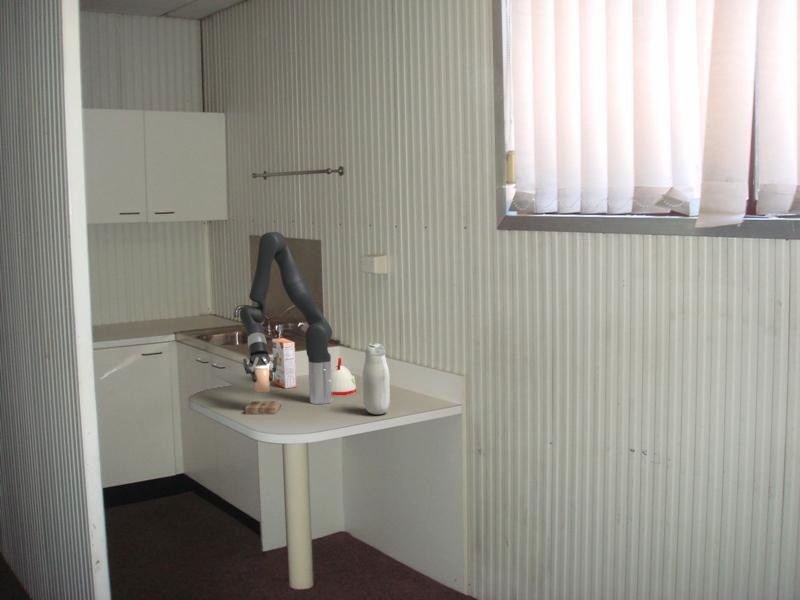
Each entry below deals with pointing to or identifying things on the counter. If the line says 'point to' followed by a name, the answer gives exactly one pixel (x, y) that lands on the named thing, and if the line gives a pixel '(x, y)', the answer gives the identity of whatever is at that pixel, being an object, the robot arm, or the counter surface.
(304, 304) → the robot arm
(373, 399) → the glass bottle
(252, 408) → the walnut board
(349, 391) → the kitchen timer
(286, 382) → the cracker box
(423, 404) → the counter surface
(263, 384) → the terracotta canister
